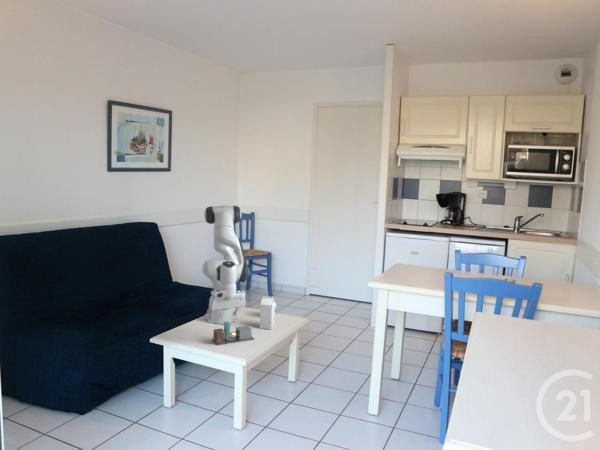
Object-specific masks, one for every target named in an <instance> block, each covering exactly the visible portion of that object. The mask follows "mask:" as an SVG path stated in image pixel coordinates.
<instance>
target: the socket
mask: <svg viewBox="0 0 600 450" xmlns="http://www.w3.org/2000/svg"><path fill="white" fill-rule="evenodd" d="M212 333H213V340H214V341H215V342H216V343H224V342H225V331H224V328H214V329H213V332H212Z"/></svg>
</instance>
